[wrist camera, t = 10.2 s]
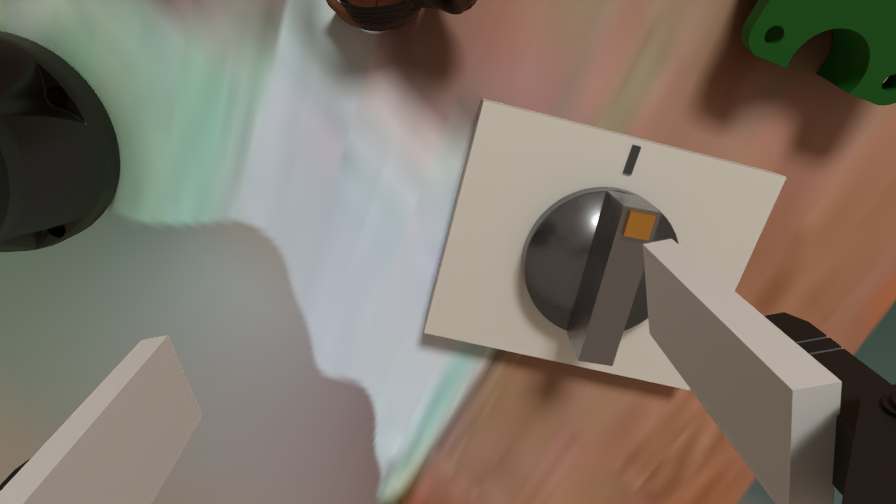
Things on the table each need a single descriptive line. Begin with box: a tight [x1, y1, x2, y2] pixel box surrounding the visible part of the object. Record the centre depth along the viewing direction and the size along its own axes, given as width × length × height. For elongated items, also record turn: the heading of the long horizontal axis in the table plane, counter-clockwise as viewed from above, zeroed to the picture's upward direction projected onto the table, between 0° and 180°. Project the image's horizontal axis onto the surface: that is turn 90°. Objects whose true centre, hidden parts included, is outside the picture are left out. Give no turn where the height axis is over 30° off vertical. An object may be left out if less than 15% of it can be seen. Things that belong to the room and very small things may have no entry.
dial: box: [522, 187, 679, 366], centre depth 39 cm, size 11×11×6 cm
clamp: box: [741, 0, 896, 105], centre depth 36 cm, size 12×6×9 cm, turn 64°
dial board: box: [424, 98, 786, 390], centre depth 43 cm, size 22×18×2 cm
